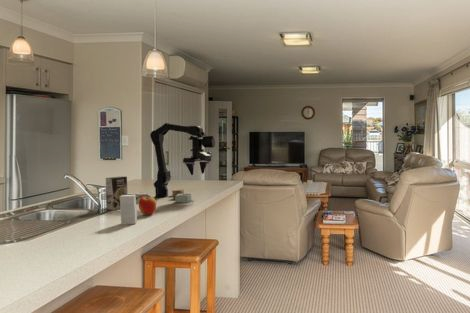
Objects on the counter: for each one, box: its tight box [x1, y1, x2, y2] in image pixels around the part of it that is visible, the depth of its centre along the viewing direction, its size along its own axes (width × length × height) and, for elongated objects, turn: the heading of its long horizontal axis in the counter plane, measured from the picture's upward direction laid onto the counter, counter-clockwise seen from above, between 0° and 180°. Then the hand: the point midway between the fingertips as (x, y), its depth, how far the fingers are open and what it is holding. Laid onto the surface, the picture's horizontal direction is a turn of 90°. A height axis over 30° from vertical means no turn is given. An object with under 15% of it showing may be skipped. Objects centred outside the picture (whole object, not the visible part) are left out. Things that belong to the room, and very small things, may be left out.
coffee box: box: [105, 176, 129, 211], centre depth 232 cm, size 9×6×16 cm
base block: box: [174, 193, 192, 204], centre depth 249 cm, size 7×7×4 cm
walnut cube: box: [172, 189, 185, 200], centre depth 260 cm, size 5×5×5 cm
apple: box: [138, 193, 157, 215], centre depth 211 cm, size 8×8×10 cm
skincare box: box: [119, 194, 138, 226], centre depth 191 cm, size 6×4×12 cm
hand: (197, 174), depth 264 cm, fingers open, 9 cm apart
